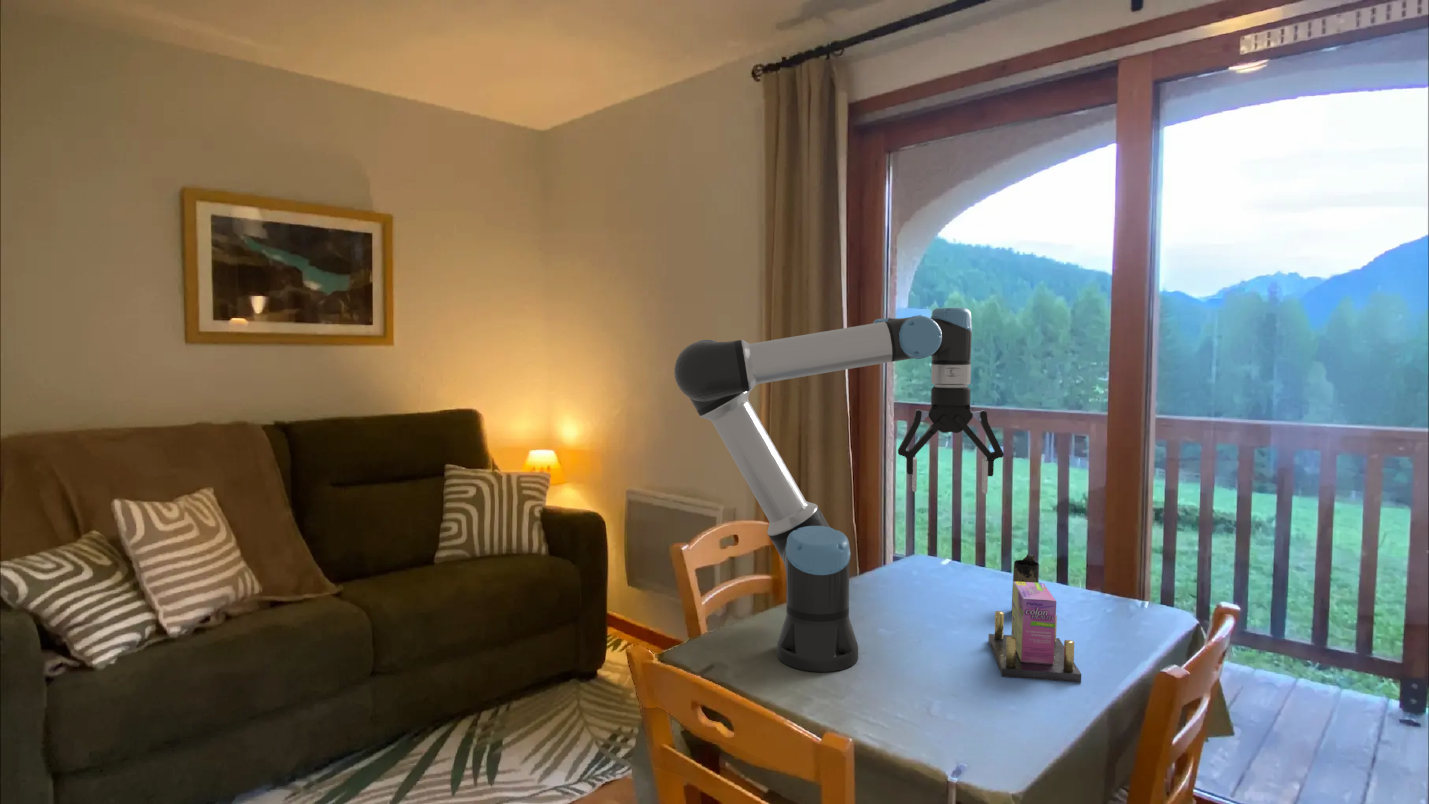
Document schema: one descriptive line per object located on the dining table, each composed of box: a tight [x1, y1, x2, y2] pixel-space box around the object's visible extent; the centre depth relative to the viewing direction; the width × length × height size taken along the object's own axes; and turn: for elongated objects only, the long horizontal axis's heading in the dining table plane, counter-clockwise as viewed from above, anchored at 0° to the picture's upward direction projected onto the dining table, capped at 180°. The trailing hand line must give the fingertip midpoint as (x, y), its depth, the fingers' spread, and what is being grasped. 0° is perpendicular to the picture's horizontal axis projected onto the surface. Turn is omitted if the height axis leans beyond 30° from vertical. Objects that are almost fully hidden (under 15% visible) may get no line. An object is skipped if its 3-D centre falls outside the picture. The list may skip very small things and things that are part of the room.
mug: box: [1011, 553, 1040, 602], centre depth 174 cm, size 8×6×12 cm
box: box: [1010, 581, 1057, 664], centre depth 147 cm, size 10×6×12 cm, turn 169°
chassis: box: [987, 610, 1082, 684], centre depth 147 cm, size 13×17×6 cm
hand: (949, 491), depth 161 cm, fingers open, 13 cm apart
